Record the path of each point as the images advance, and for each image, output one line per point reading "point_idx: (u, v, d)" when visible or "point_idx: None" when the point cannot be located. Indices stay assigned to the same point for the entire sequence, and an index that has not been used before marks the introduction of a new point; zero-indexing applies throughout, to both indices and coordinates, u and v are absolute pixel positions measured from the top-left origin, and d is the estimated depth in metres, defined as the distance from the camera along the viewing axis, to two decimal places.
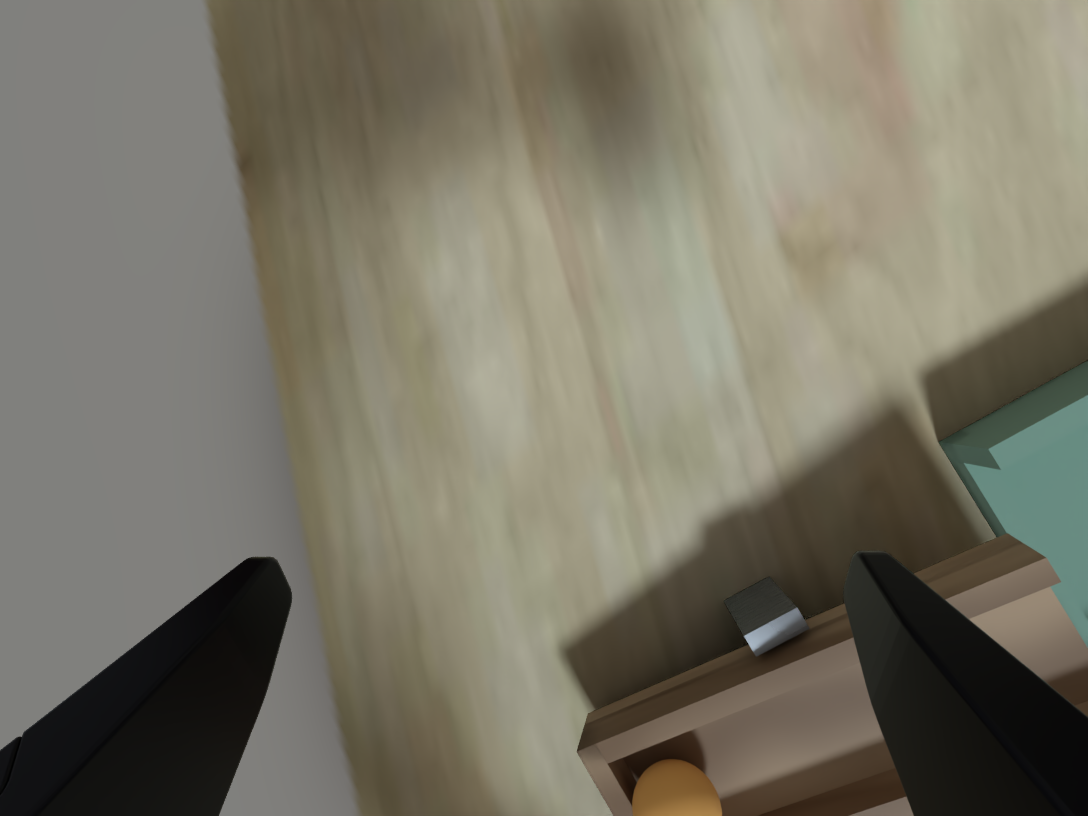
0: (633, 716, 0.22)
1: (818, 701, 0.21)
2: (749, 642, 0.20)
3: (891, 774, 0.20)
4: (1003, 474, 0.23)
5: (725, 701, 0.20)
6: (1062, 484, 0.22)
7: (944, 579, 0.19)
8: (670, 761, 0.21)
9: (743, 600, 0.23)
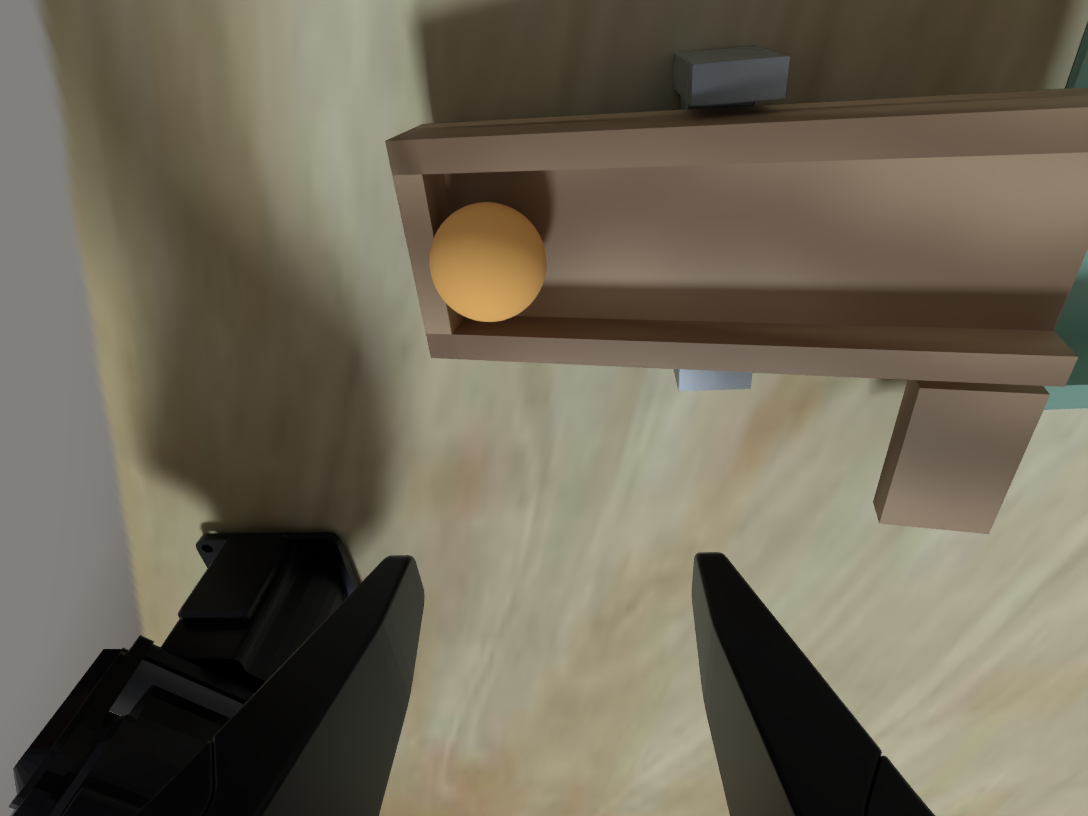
0: (482, 131, 0.15)
1: (726, 212, 0.15)
2: (694, 79, 0.13)
3: (751, 326, 0.16)
4: None
5: (618, 146, 0.14)
6: None
7: (1010, 101, 0.12)
8: None
9: (705, 52, 0.15)
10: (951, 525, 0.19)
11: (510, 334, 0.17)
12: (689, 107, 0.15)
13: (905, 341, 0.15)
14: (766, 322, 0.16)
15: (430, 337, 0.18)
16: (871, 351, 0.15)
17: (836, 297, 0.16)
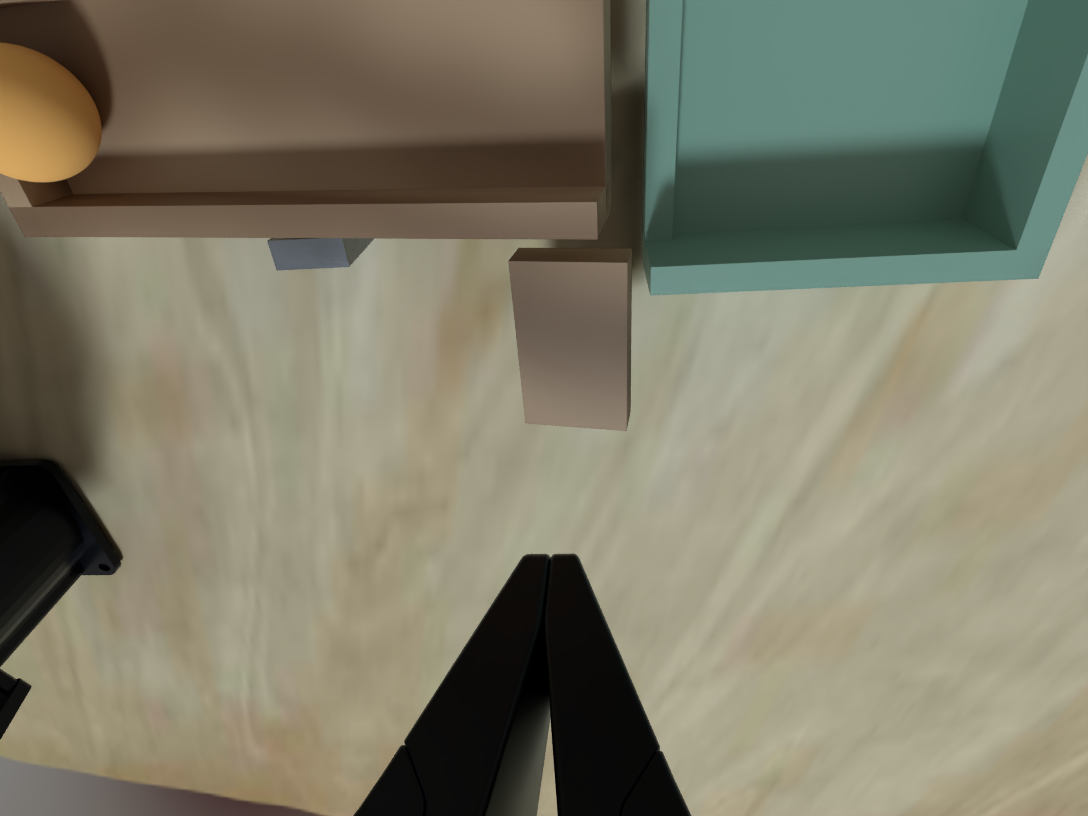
0: None
1: (263, 57, 0.14)
2: None
3: (326, 193, 0.15)
4: None
5: None
6: None
7: None
8: (28, 48, 0.14)
9: None
10: (590, 422, 0.18)
11: (87, 205, 0.16)
12: None
13: (452, 197, 0.14)
14: (345, 190, 0.15)
15: (14, 212, 0.17)
16: (413, 207, 0.14)
17: (397, 156, 0.15)
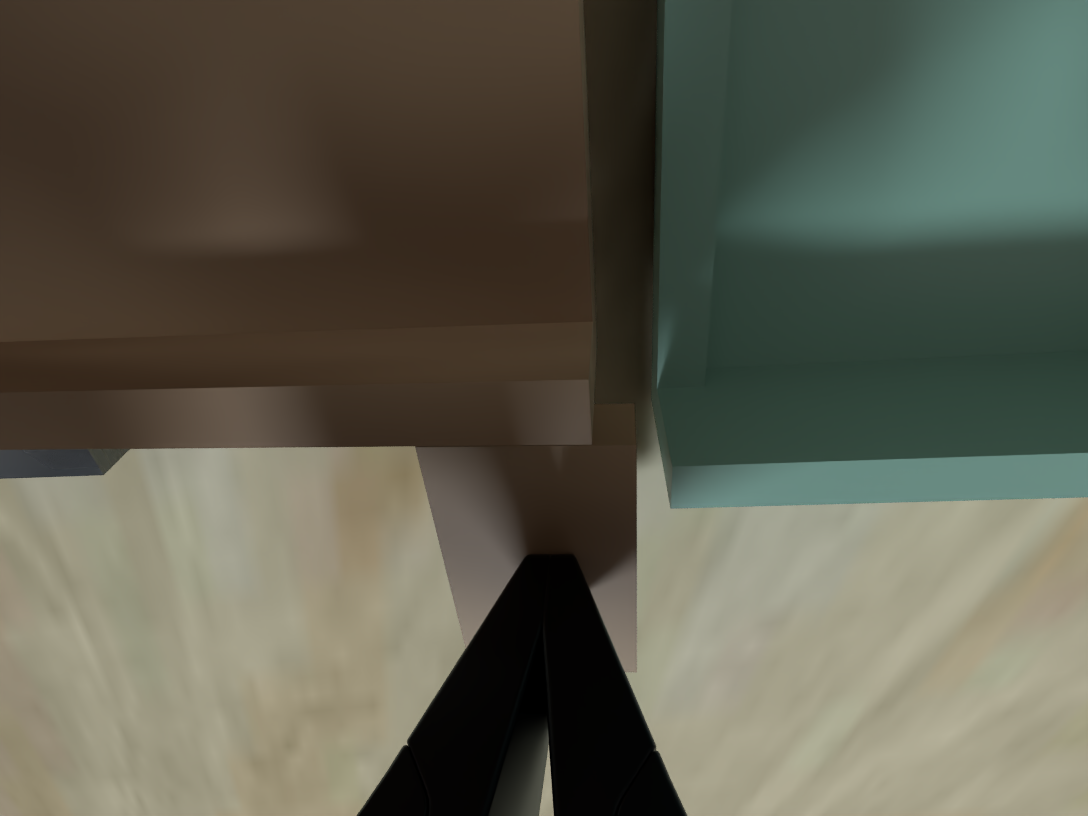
0: None
1: None
2: None
3: (40, 348, 0.08)
4: None
5: None
6: None
7: None
8: None
9: None
10: None
11: None
12: None
13: (285, 364, 0.07)
14: (82, 339, 0.08)
15: None
16: (201, 392, 0.07)
17: (171, 278, 0.07)
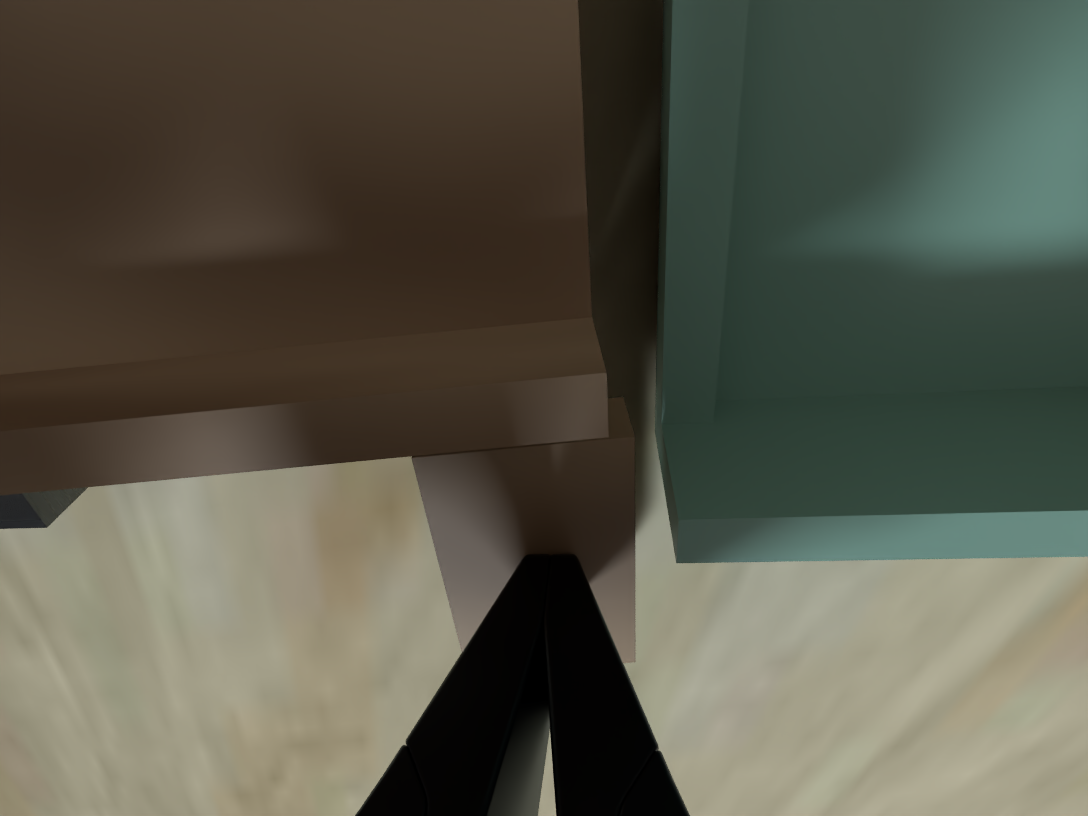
0: None
1: None
2: None
3: None
4: None
5: None
6: None
7: None
8: None
9: None
10: None
11: None
12: None
13: (282, 380, 0.07)
14: (36, 370, 0.07)
15: None
16: (193, 416, 0.06)
17: (141, 298, 0.07)
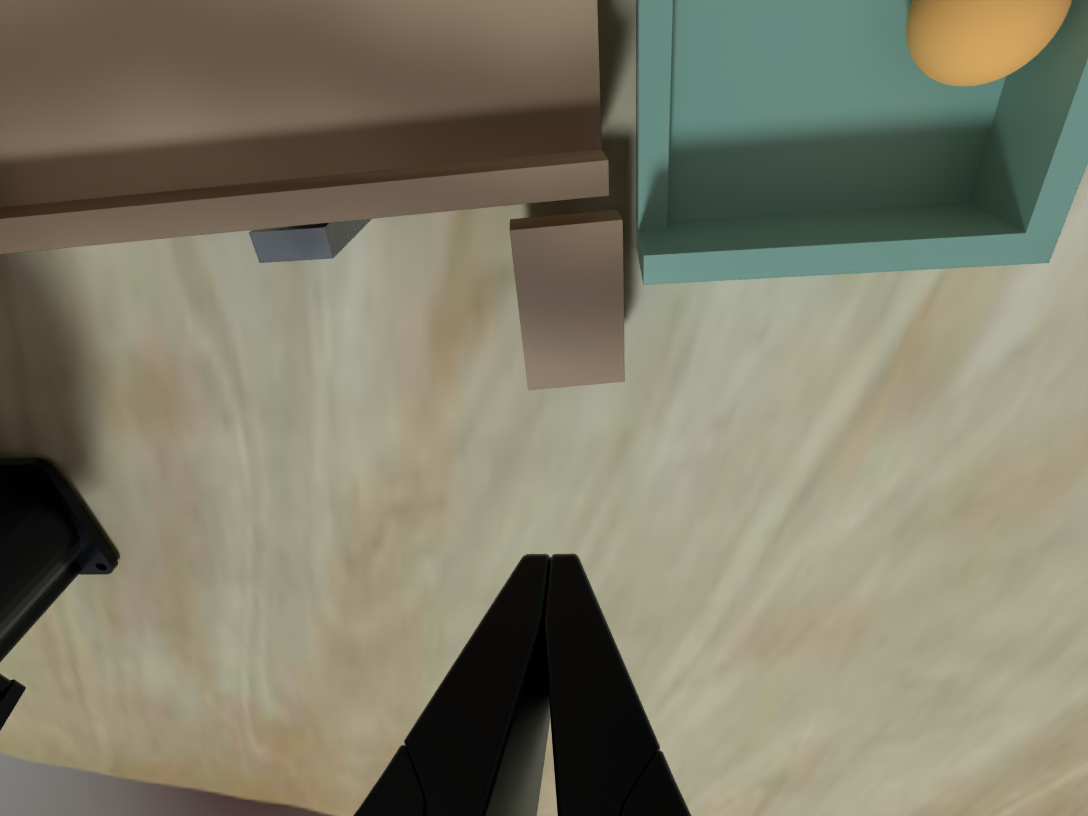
0: None
1: (245, 41, 0.14)
2: None
3: (320, 178, 0.15)
4: None
5: None
6: None
7: None
8: None
9: None
10: (590, 379, 0.19)
11: (35, 214, 0.14)
12: None
13: (462, 169, 0.15)
14: (338, 174, 0.15)
15: None
16: (427, 181, 0.14)
17: (395, 135, 0.15)
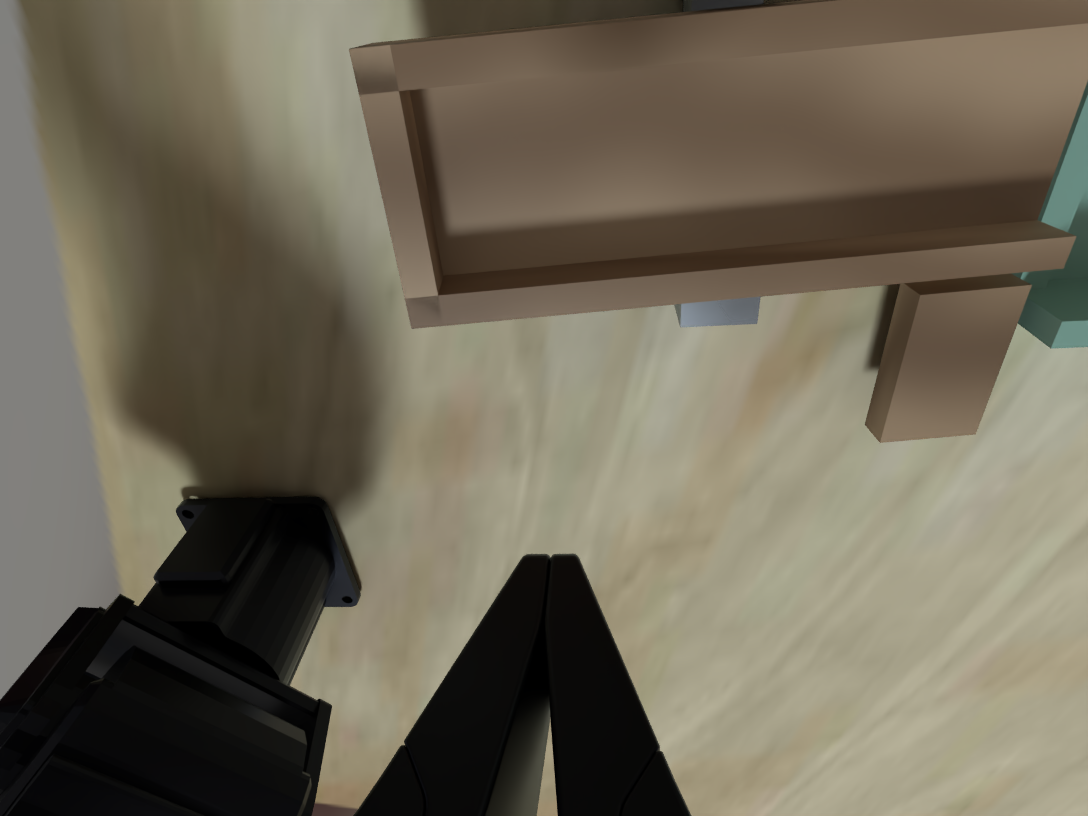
0: (468, 36, 0.12)
1: (738, 122, 0.14)
2: None
3: (765, 248, 0.15)
4: None
5: (640, 40, 0.12)
6: None
7: None
8: None
9: None
10: (943, 432, 0.19)
11: (509, 287, 0.15)
12: (692, 10, 0.14)
13: (920, 243, 0.15)
14: (777, 244, 0.16)
15: (410, 303, 0.15)
16: (894, 255, 0.15)
17: (846, 207, 0.15)
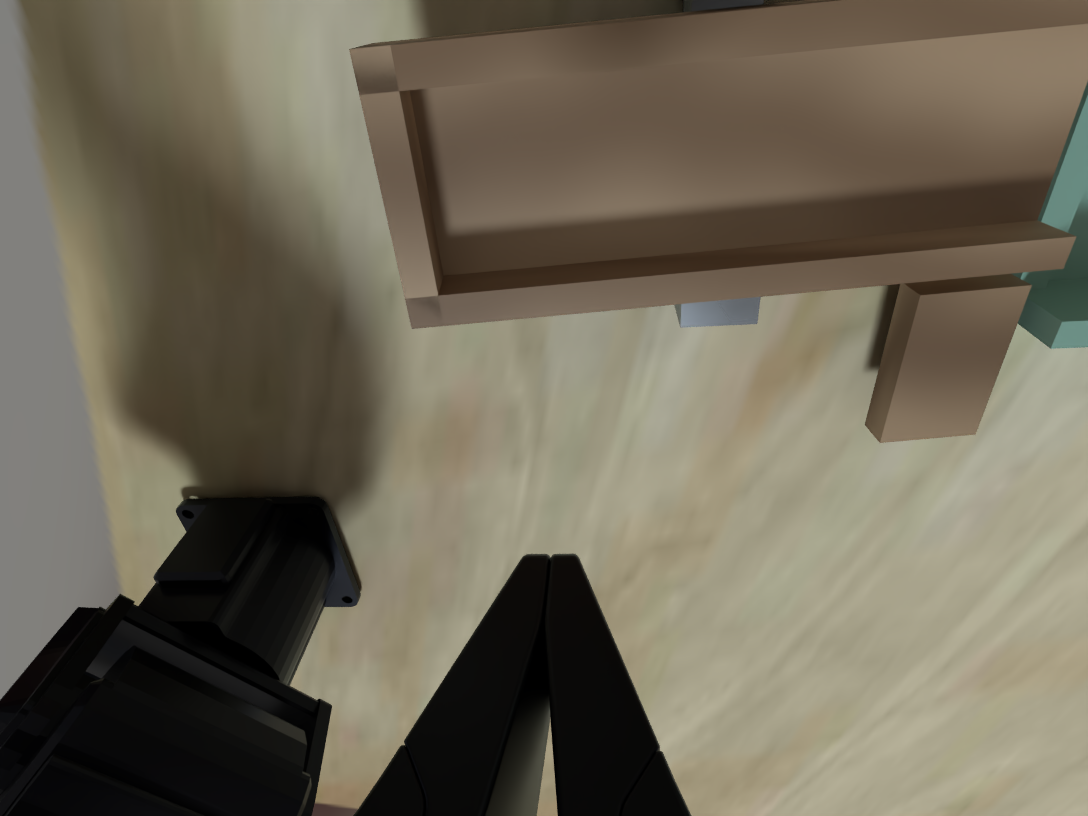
0: (468, 36, 0.12)
1: (738, 123, 0.14)
2: None
3: (765, 248, 0.15)
4: None
5: (640, 41, 0.12)
6: None
7: None
8: None
9: None
10: (943, 432, 0.19)
11: (510, 287, 0.15)
12: (692, 10, 0.14)
13: (920, 243, 0.15)
14: (777, 244, 0.16)
15: (410, 303, 0.15)
16: (894, 256, 0.15)
17: (846, 208, 0.15)
